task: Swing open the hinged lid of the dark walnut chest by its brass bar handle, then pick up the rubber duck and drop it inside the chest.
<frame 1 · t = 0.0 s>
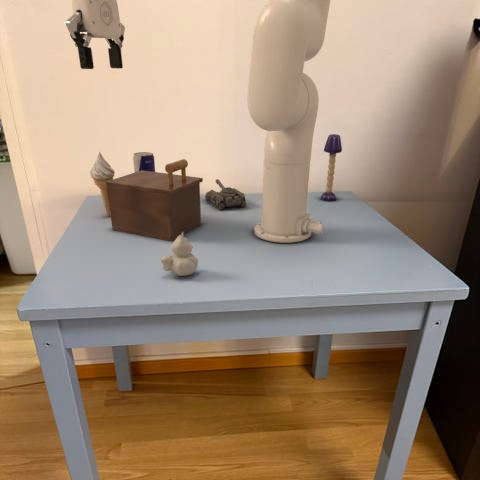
hand: (102, 68, 101), 31 cm above the table, tool pointing down, fingers open, 9 cm apart
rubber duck: (180, 275, 81), on the table
toy lamp: (327, 200, 125), on the table
ice cream cone: (108, 217, 110), on the table
tank toy: (225, 204, 120), on the table
chest: (157, 227, 103), on the table
chest lid: (154, 171, 97), point 12 cm above the table, hinge at 0.0°
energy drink: (147, 201, 122), on the table
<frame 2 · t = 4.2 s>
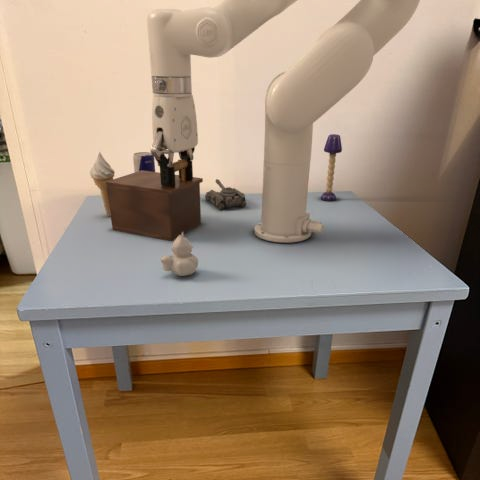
hand: (177, 182, 96), 11 cm above the table, tool pointing down, fingers closed on chest lid, 6 cm apart
chest lid: (154, 171, 97), point 12 cm above the table, hinge at -0.2°, touching chest, gripper
everything else where it was.
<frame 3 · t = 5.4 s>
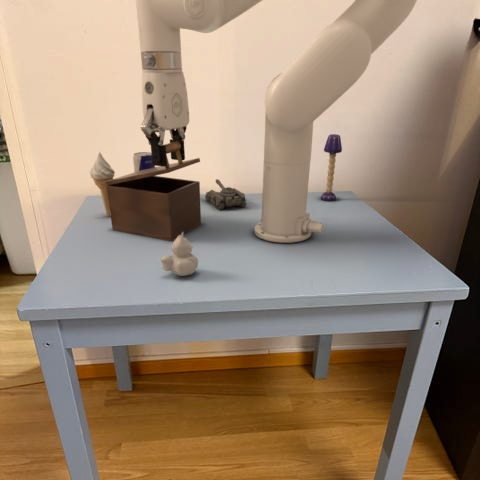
hand: (169, 161, 94), 15 cm above the table, tool pointing down, fingers closed on chest lid, 6 cm apart
chest lid: (150, 161, 96), point 14 cm above the table, hinge at 14.9°, touching gripper
everything else where it was.
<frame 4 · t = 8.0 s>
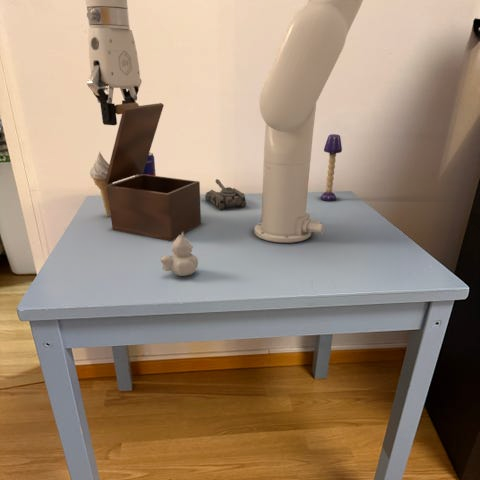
hand: (120, 122, 95), 22 cm above the table, tool pointing down, fingers closed on chest lid, 6 cm apart
chest lid: (126, 138, 96), point 19 cm above the table, hinge at 64.3°, touching gripper
everything else where it was.
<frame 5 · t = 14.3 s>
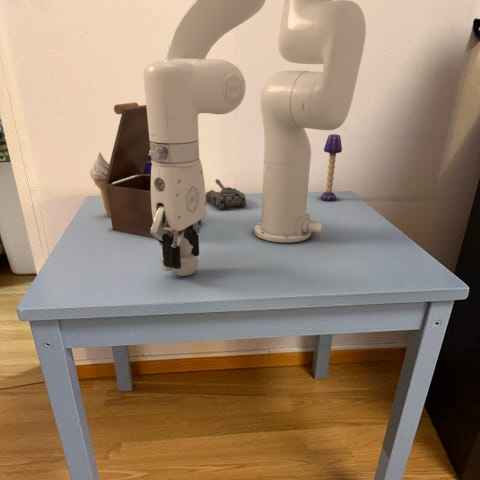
hand: (181, 259, 79), 3 cm above the table, tool pointing down, fingers closed on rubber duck, 5 cm apart
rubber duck: (180, 275, 81), on the table, touching gripper
chest lid: (126, 138, 96), point 19 cm above the table, hinge at 64.5°
everything else where it was.
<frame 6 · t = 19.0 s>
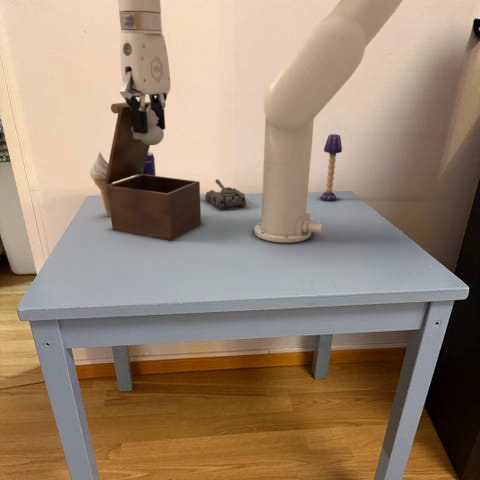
hand: (149, 130, 92), 21 cm above the table, tool pointing down, fingers closed on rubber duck, 5 cm apart
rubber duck: (148, 146, 94), point 18 cm above the table, touching gripper
chest lid: (124, 137, 96), point 19 cm above the table, hinge at 67.6°
everything else where it was.
when the fingers open (9 cm above the table, at t = 22.3 s): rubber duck drops 5 cm, resting on chest.
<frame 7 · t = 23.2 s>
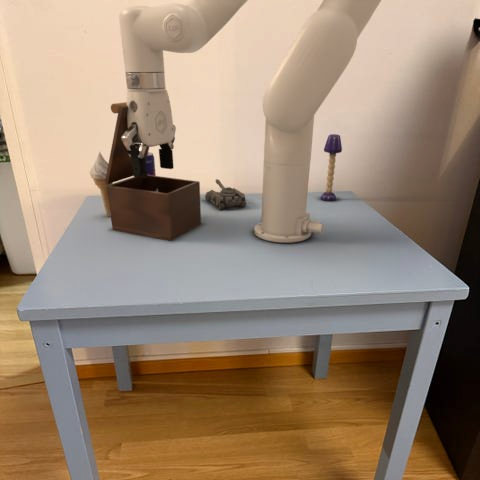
hand: (154, 172, 97), 12 cm above the table, tool pointing down, fingers open, 9 cm apart
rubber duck: (156, 224, 103), point 1 cm above the table, touching chest
everything else where it was.
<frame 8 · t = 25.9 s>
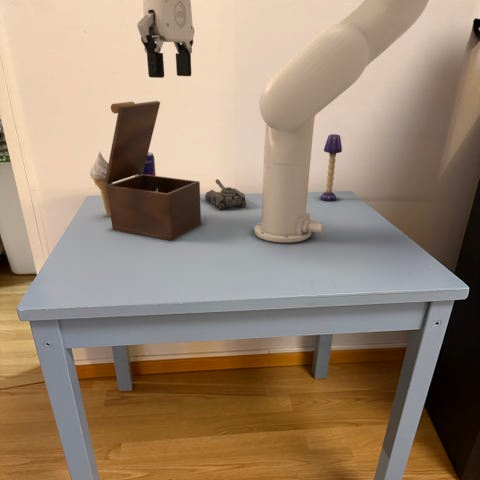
hand: (170, 76, 89), 30 cm above the table, tool pointing down, fingers open, 9 cm apart
nothing on the table moved.
at the end: chest lid at +68° (first picture: +0°); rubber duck inside the target area in the chest (0.3 cm from its centre), point 0.6 cm above the chest's base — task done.
